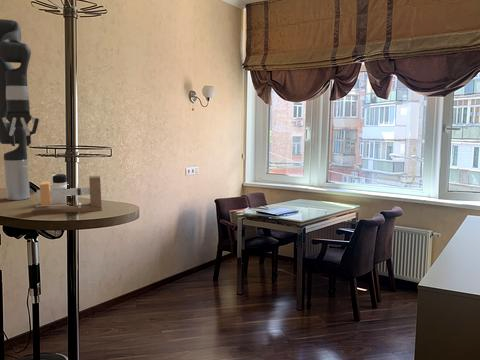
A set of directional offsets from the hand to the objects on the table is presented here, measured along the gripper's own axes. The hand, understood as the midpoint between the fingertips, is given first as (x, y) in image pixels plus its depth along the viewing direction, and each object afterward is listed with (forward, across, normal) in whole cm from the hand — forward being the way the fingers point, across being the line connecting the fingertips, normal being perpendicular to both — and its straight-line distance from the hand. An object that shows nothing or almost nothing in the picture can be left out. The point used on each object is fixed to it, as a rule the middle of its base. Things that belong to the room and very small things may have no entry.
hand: (20, 145), depth 169 cm
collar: (+22, -7, 0) cm, 23 cm away
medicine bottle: (+25, -12, -17) cm, 33 cm away
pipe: (+20, -14, 0) cm, 24 cm away
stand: (+25, -16, 0) cm, 30 cm away
